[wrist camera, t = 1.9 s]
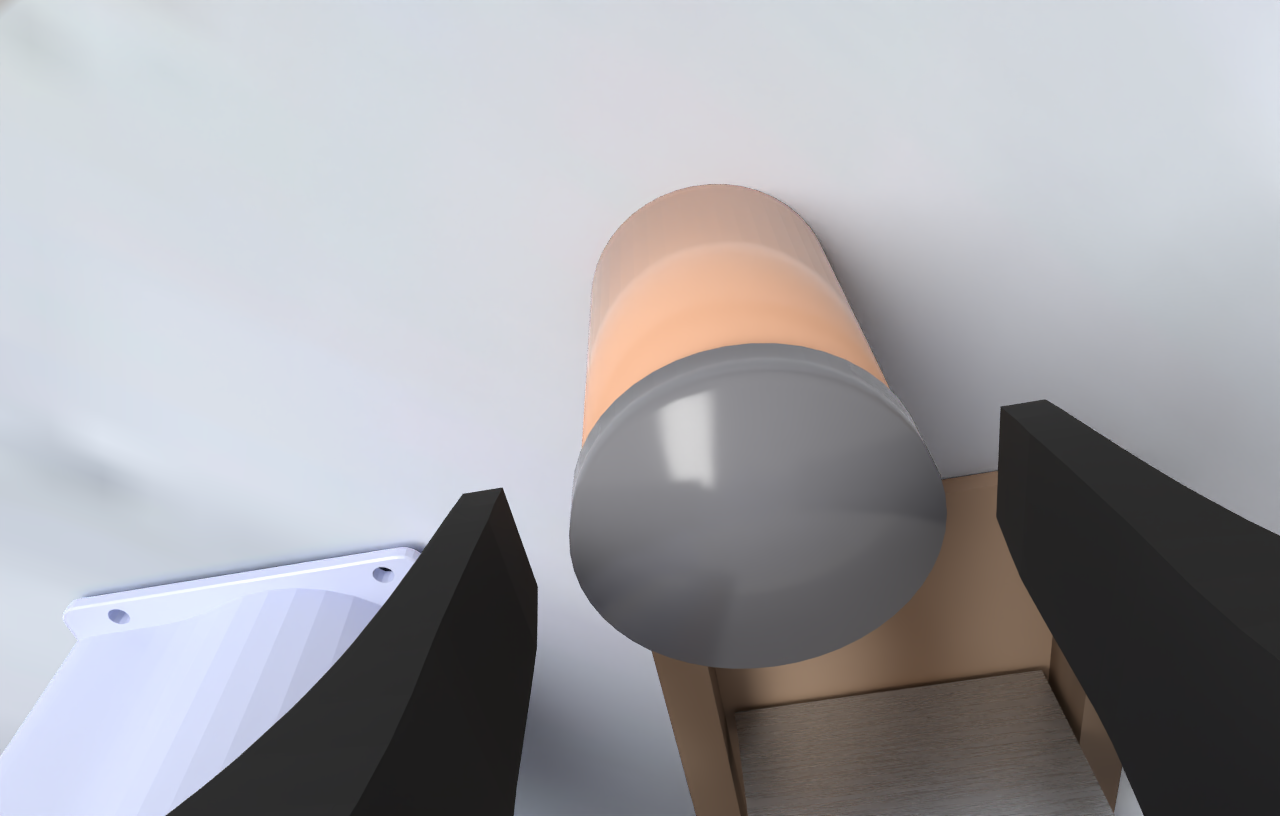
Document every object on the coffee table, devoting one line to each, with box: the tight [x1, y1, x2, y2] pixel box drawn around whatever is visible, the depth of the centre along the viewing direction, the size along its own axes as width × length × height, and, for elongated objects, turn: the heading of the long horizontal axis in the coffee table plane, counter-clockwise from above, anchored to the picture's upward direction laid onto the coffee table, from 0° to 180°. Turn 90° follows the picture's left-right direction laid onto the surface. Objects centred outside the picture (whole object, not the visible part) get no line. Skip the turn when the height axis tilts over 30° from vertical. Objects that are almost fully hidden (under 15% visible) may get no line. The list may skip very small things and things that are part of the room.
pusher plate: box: [735, 670, 1115, 816], centre depth 22 cm, size 8×1×6 cm, turn 101°
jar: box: [569, 184, 947, 669], centre depth 15 cm, size 5×5×8 cm
